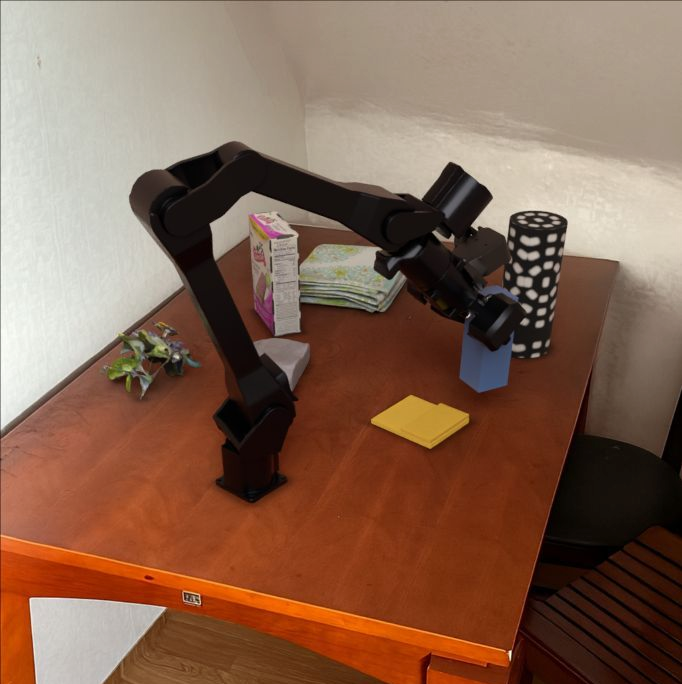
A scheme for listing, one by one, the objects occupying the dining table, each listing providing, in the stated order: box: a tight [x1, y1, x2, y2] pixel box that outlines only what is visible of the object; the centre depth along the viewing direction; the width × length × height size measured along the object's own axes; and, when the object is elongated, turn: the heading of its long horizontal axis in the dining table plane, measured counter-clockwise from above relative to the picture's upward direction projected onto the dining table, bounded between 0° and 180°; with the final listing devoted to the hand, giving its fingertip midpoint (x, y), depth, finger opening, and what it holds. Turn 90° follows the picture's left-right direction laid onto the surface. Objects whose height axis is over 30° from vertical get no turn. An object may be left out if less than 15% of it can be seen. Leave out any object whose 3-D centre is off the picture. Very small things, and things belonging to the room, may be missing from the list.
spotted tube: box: [501, 210, 569, 359], centre depth 142 cm, size 8×8×20 cm
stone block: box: [253, 337, 311, 392], centre depth 138 cm, size 12×5×10 cm
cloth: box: [370, 394, 470, 450], centre depth 128 cm, size 9×10×1 cm
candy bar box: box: [248, 210, 302, 337], centre depth 149 cm, size 11×5×16 cm, turn 22°
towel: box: [300, 243, 408, 313], centre depth 164 cm, size 18×21×5 cm
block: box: [459, 284, 518, 394], centre depth 122 cm, size 5×5×12 cm
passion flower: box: [100, 320, 202, 401], centre depth 134 cm, size 11×11×12 cm
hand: (496, 334), depth 122 cm, fingers closed on block, 4 cm apart
